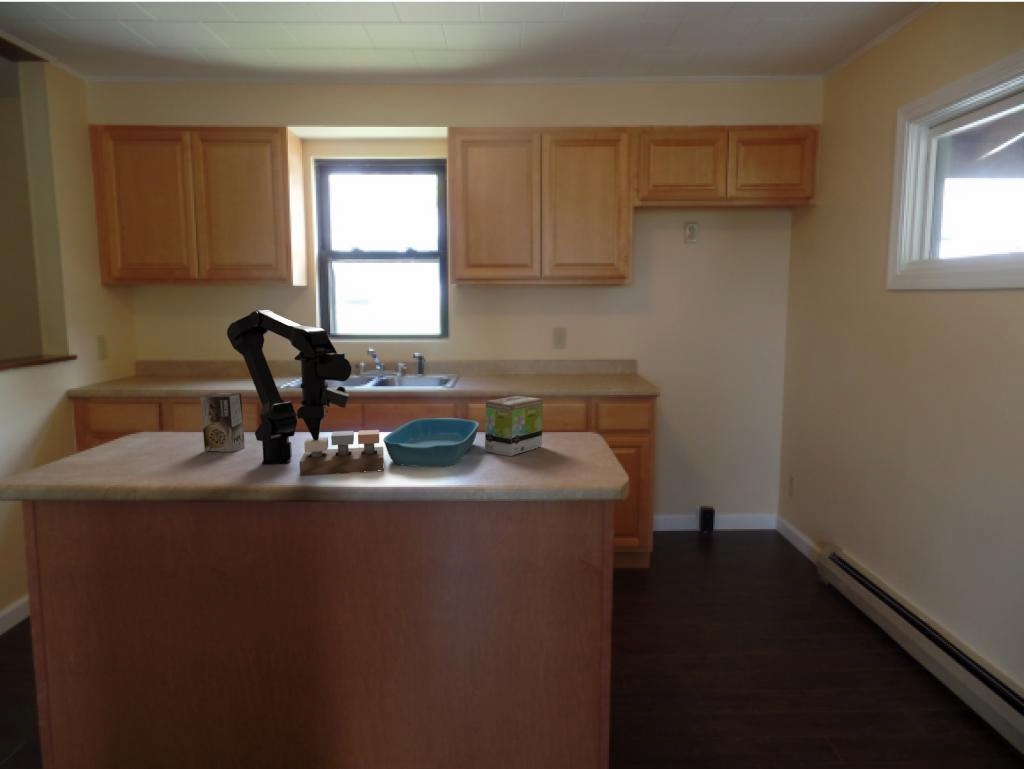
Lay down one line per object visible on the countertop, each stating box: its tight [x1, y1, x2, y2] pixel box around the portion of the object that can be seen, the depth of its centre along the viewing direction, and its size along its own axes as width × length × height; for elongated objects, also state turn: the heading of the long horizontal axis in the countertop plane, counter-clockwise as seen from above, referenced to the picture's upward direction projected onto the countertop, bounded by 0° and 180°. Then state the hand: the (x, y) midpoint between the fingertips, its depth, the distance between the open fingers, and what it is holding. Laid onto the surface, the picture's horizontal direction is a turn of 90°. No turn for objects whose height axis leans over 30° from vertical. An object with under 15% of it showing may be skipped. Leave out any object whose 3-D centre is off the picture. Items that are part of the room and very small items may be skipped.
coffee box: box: [199, 392, 246, 453], centre depth 176 cm, size 9×6×16 cm
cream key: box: [303, 436, 329, 457], centre depth 156 cm, size 5×5×6 cm
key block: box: [299, 446, 384, 476], centre depth 158 cm, size 20×12×4 cm, turn 102°
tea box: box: [484, 395, 544, 457], centre depth 176 cm, size 15×10×15 cm, turn 143°
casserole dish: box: [383, 417, 480, 467], centre depth 172 cm, size 37×22×7 cm, turn 172°
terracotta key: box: [357, 429, 380, 455], centre depth 158 cm, size 5×5×6 cm
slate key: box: [330, 430, 355, 456], centre depth 157 cm, size 5×5×6 cm
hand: (316, 439), depth 156 cm, fingers closed, pressing on cream key
